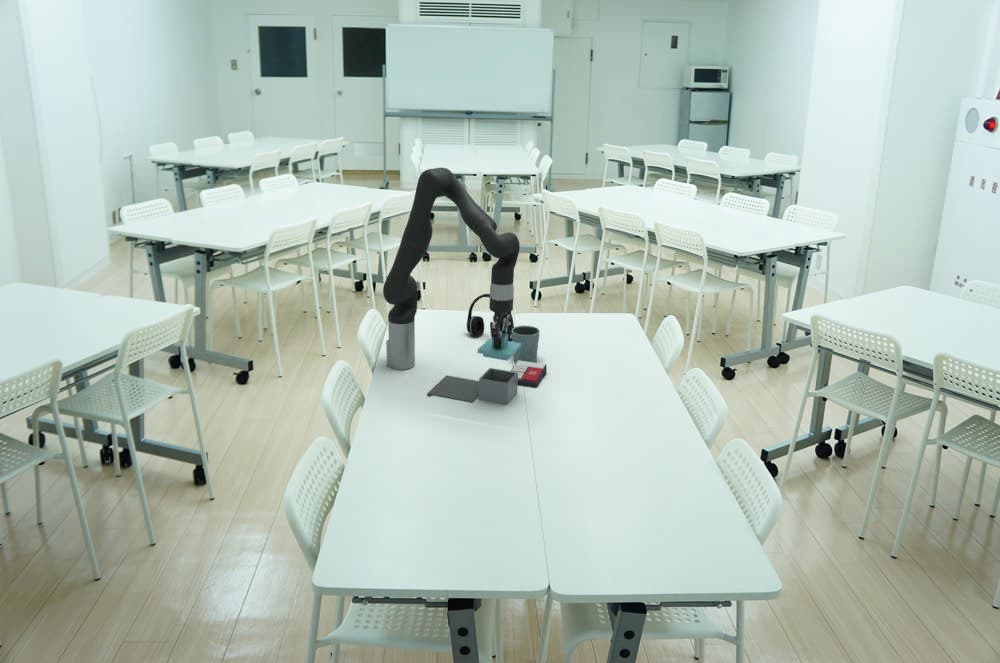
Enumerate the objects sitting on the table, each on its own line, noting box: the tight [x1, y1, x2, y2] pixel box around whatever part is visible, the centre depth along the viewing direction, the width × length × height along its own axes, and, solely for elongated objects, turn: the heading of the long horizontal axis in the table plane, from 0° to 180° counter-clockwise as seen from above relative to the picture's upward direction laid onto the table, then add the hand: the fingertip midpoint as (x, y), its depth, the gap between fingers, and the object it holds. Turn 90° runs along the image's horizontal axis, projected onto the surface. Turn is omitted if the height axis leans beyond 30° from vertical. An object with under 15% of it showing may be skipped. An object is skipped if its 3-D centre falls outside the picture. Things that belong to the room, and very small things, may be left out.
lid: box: [477, 333, 521, 361], centre depth 274 cm, size 11×11×7 cm
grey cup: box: [512, 325, 541, 364], centre depth 309 cm, size 10×10×12 cm
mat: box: [426, 375, 479, 404], centre depth 285 cm, size 16×16×1 cm
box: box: [478, 367, 519, 406], centre depth 279 cm, size 10×10×8 cm
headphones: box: [466, 293, 515, 342], centre depth 327 cm, size 20×7×18 cm, turn 57°
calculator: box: [510, 360, 548, 389], centre depth 295 cm, size 11×4×15 cm
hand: (499, 345), depth 274 cm, fingers closed on lid, 4 cm apart
